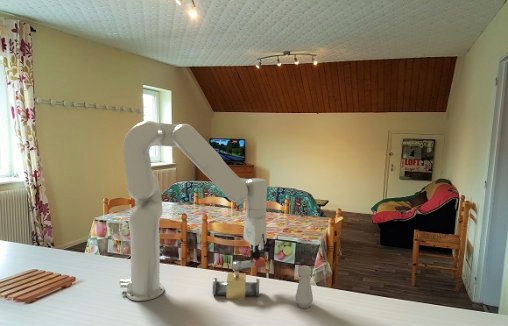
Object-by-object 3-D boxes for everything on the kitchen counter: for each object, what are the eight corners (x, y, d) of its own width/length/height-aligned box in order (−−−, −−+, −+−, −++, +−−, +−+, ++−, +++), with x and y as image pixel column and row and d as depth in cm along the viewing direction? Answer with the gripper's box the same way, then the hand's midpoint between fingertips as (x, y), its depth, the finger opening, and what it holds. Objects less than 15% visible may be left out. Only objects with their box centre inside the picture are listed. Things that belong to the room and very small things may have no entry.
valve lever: (234, 271, 109) (234, 264, 109) (231, 268, 112) (231, 261, 112) (264, 266, 114) (265, 259, 114) (261, 263, 117) (261, 256, 117)
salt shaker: (312, 310, 103) (314, 271, 102) (294, 308, 104) (296, 269, 103) (312, 301, 108) (314, 264, 107) (295, 299, 110) (297, 263, 109)
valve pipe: (212, 298, 109) (212, 273, 108) (214, 289, 115) (215, 265, 115) (258, 299, 109) (259, 274, 108) (258, 290, 115) (259, 266, 115)
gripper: (238, 209, 121) (237, 255, 122) (256, 218, 108) (255, 270, 109) (255, 207, 125) (254, 252, 126) (275, 216, 111) (274, 266, 113)
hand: (254, 261), depth 118 cm, fingers closed
